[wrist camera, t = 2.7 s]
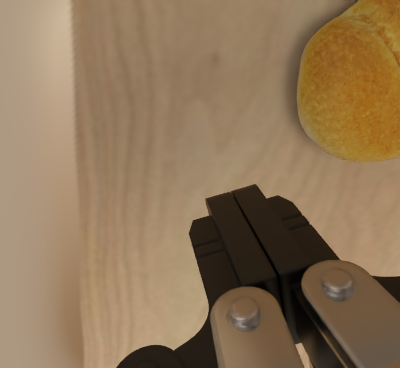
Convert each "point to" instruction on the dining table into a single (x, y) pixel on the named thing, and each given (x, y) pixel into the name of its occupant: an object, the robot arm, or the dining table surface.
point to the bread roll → (354, 83)
